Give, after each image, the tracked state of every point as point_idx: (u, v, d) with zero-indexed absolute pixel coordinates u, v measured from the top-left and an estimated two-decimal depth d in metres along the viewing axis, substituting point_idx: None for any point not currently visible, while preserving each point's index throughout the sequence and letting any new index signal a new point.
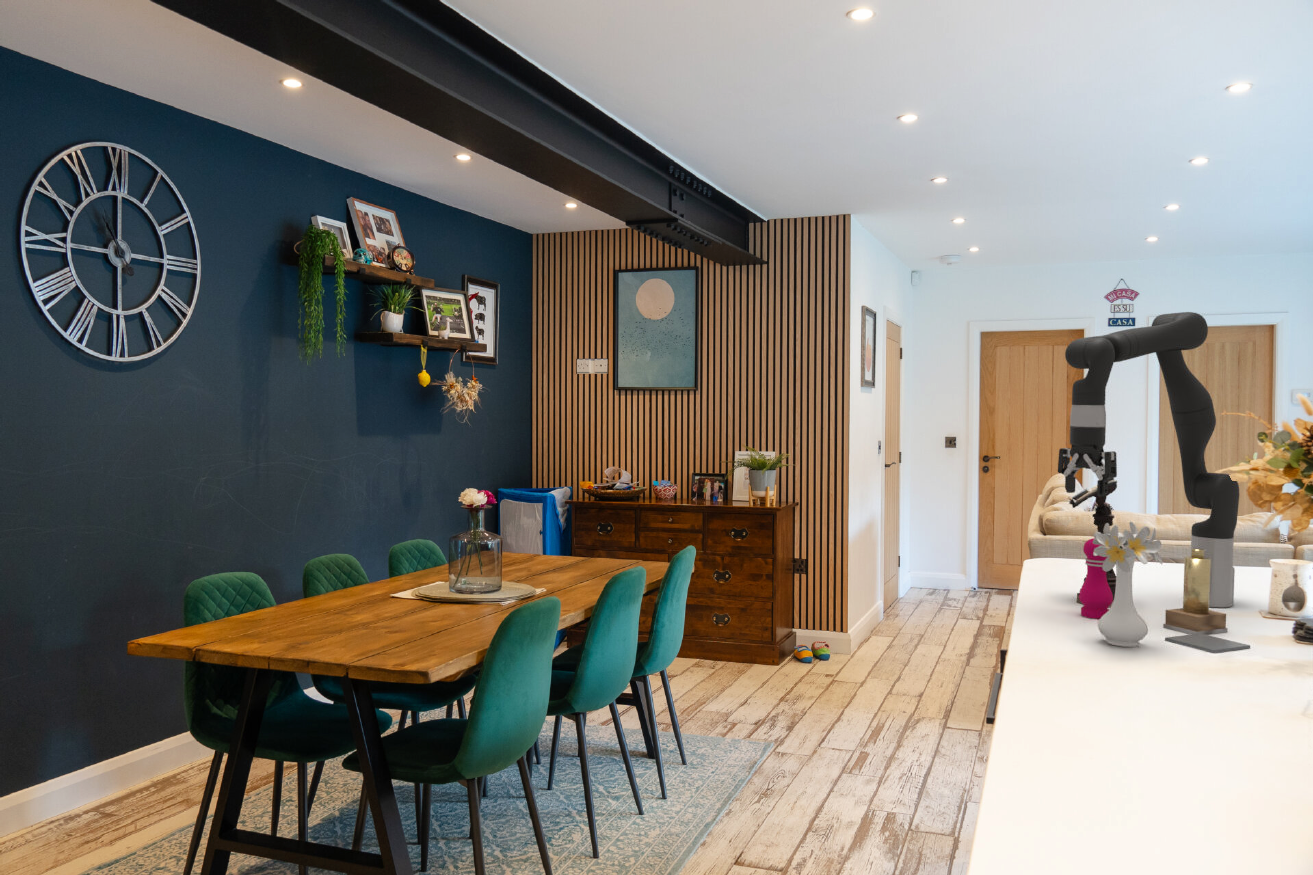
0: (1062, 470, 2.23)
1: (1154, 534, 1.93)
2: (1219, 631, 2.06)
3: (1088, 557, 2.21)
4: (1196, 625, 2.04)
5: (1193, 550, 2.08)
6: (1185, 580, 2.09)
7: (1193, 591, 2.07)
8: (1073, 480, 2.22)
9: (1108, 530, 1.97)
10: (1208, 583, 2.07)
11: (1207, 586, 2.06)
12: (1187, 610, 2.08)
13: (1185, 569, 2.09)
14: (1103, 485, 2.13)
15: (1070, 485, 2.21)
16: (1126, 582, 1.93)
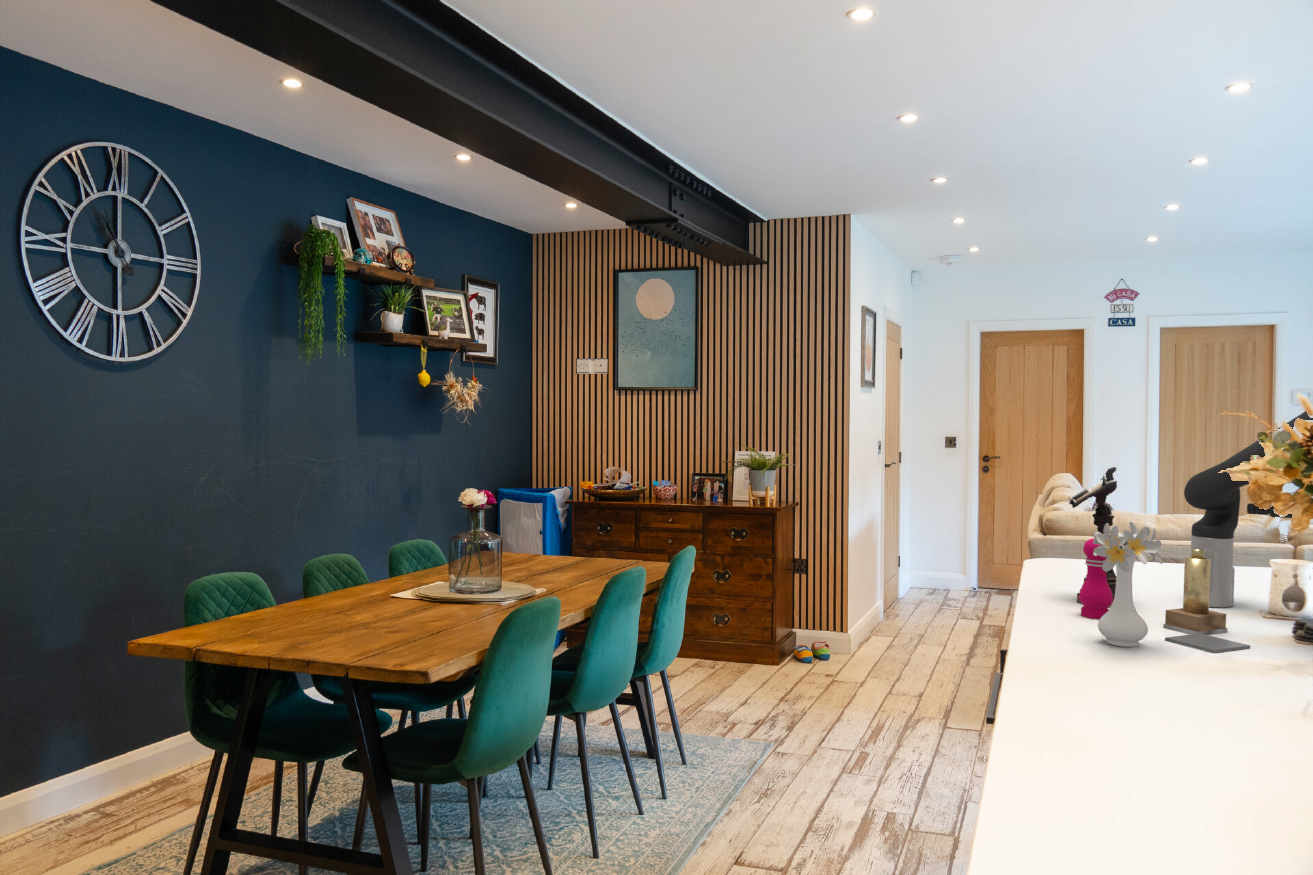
0: None
1: (1154, 534, 1.93)
2: (1219, 631, 2.06)
3: (1088, 557, 2.21)
4: (1196, 625, 2.04)
5: (1193, 550, 2.08)
6: (1185, 580, 2.08)
7: (1193, 591, 2.07)
8: None
9: (1108, 530, 1.97)
10: (1209, 583, 2.07)
11: (1208, 586, 2.06)
12: (1187, 610, 2.08)
13: (1185, 569, 2.09)
14: None
15: None
16: (1126, 582, 1.93)
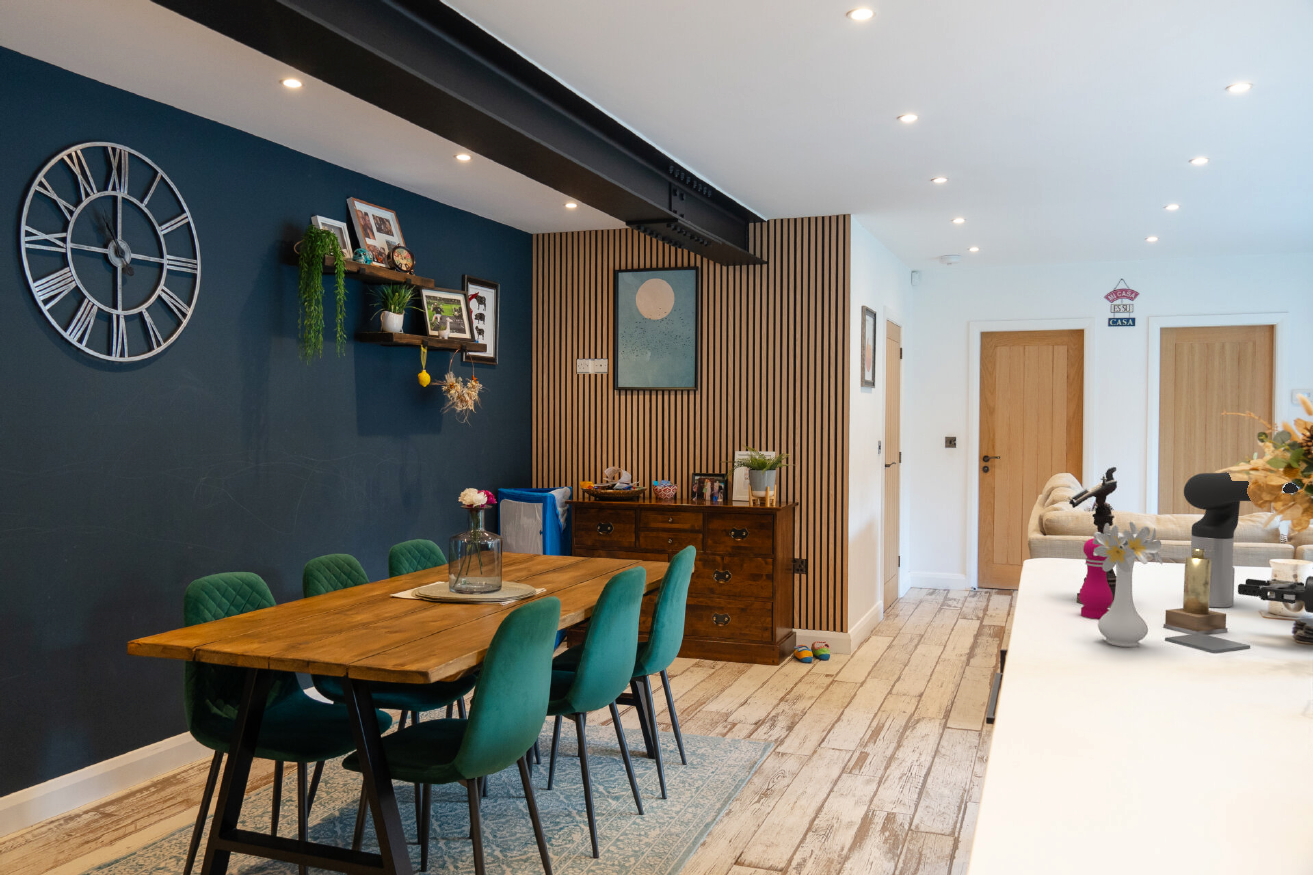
0: None
1: (1154, 534, 1.93)
2: (1219, 631, 2.06)
3: (1088, 557, 2.21)
4: (1196, 625, 2.04)
5: (1194, 550, 2.08)
6: (1186, 580, 2.09)
7: (1193, 590, 2.07)
8: None
9: (1108, 530, 1.97)
10: (1209, 583, 2.07)
11: (1208, 586, 2.06)
12: (1187, 610, 2.08)
13: (1185, 569, 2.09)
14: None
15: None
16: (1126, 582, 1.93)
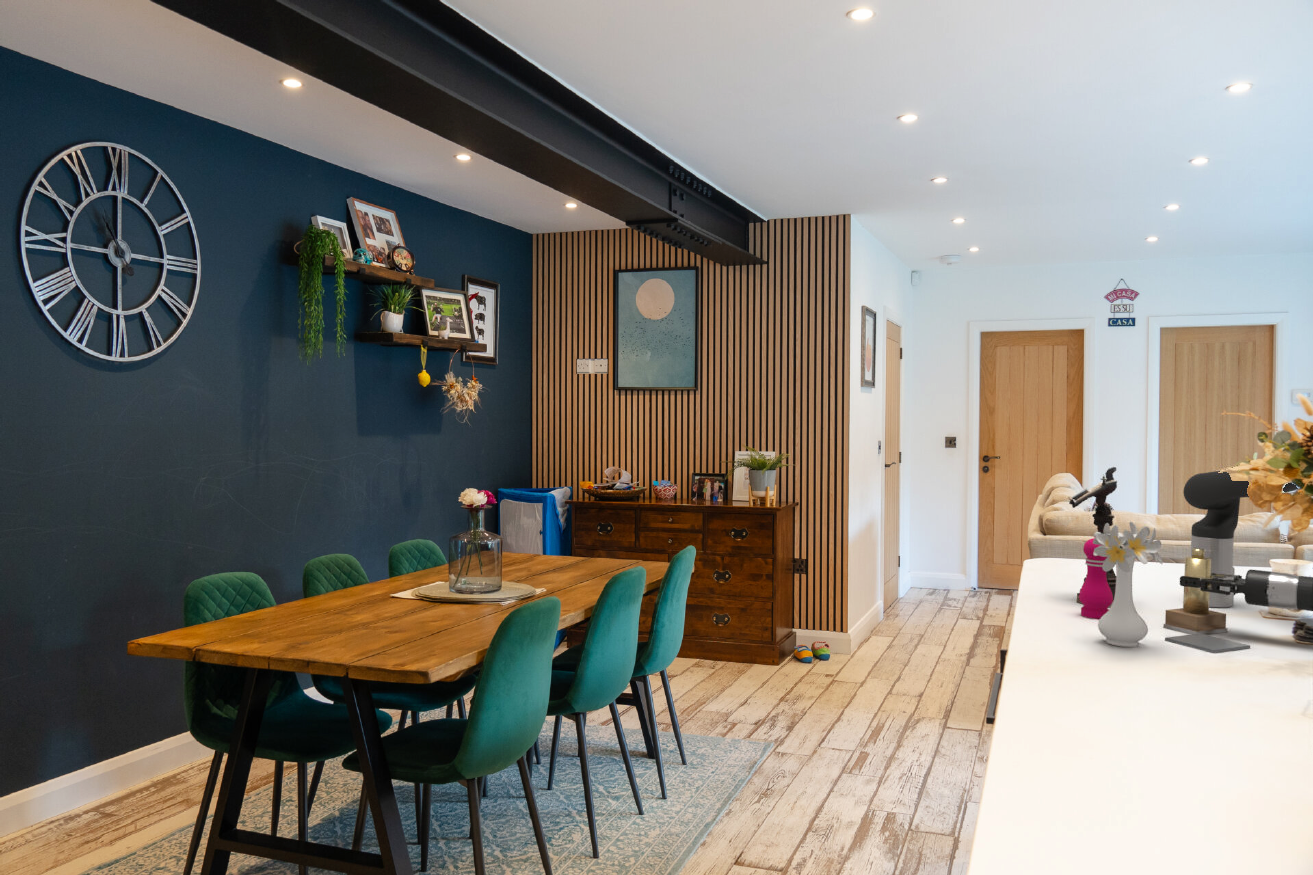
0: None
1: (1154, 534, 1.93)
2: (1219, 631, 2.06)
3: (1088, 557, 2.21)
4: (1196, 625, 2.04)
5: (1194, 550, 2.08)
6: None
7: (1193, 590, 2.07)
8: None
9: (1108, 530, 1.97)
10: (1209, 583, 2.07)
11: (1208, 586, 2.06)
12: (1187, 610, 2.08)
13: (1185, 569, 2.09)
14: None
15: None
16: (1126, 582, 1.93)
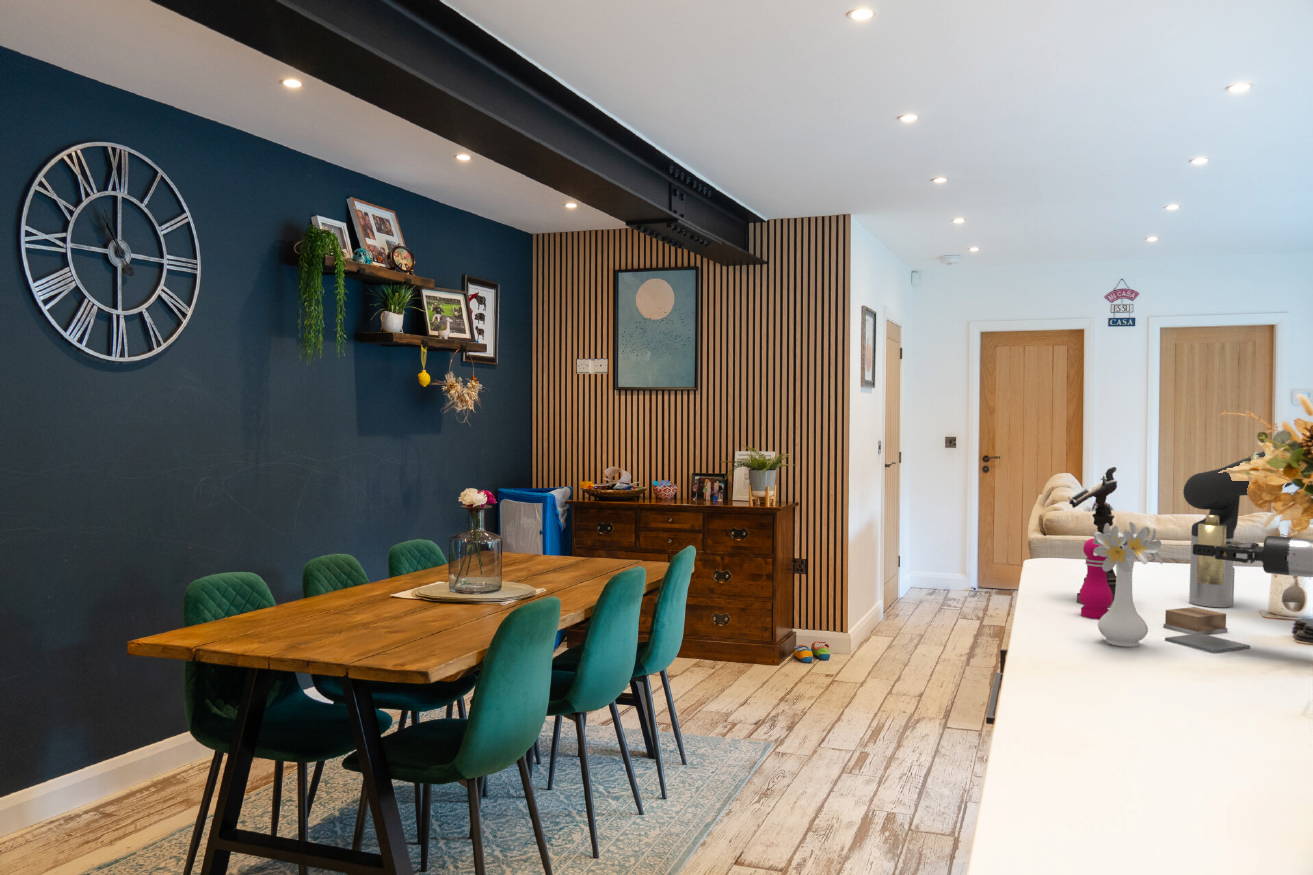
0: None
1: (1154, 534, 1.93)
2: (1219, 631, 2.06)
3: (1088, 557, 2.21)
4: (1196, 625, 2.04)
5: (1207, 516, 1.94)
6: None
7: (1207, 559, 1.93)
8: None
9: (1108, 530, 1.97)
10: (1224, 552, 1.93)
11: None
12: (1201, 580, 1.94)
13: (1199, 537, 1.95)
14: None
15: None
16: (1126, 582, 1.93)
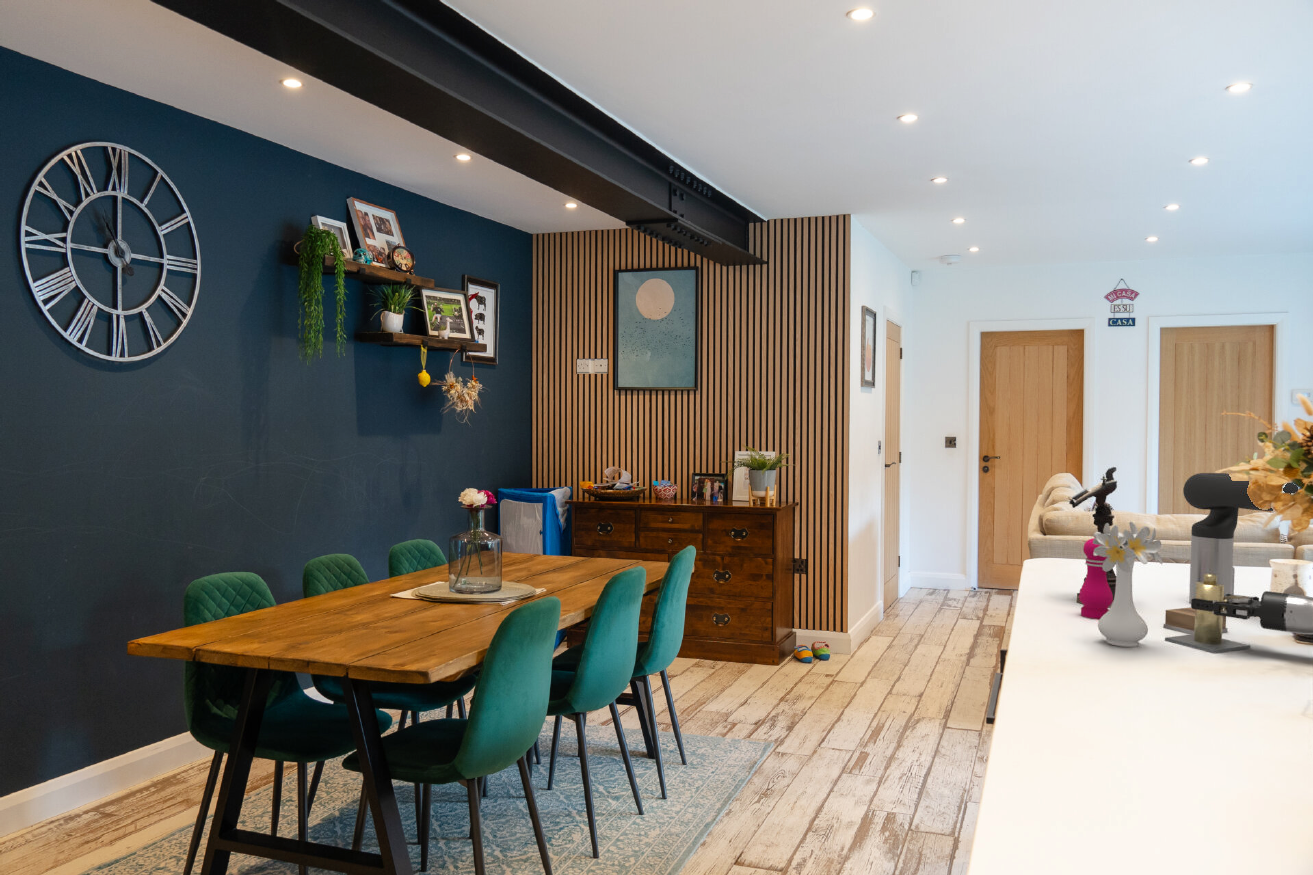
0: None
1: (1154, 534, 1.93)
2: None
3: (1088, 557, 2.21)
4: None
5: (1205, 576, 1.95)
6: None
7: (1205, 619, 1.94)
8: None
9: (1108, 530, 1.97)
10: None
11: None
12: (1198, 639, 1.95)
13: (1197, 596, 1.96)
14: None
15: None
16: (1126, 582, 1.93)
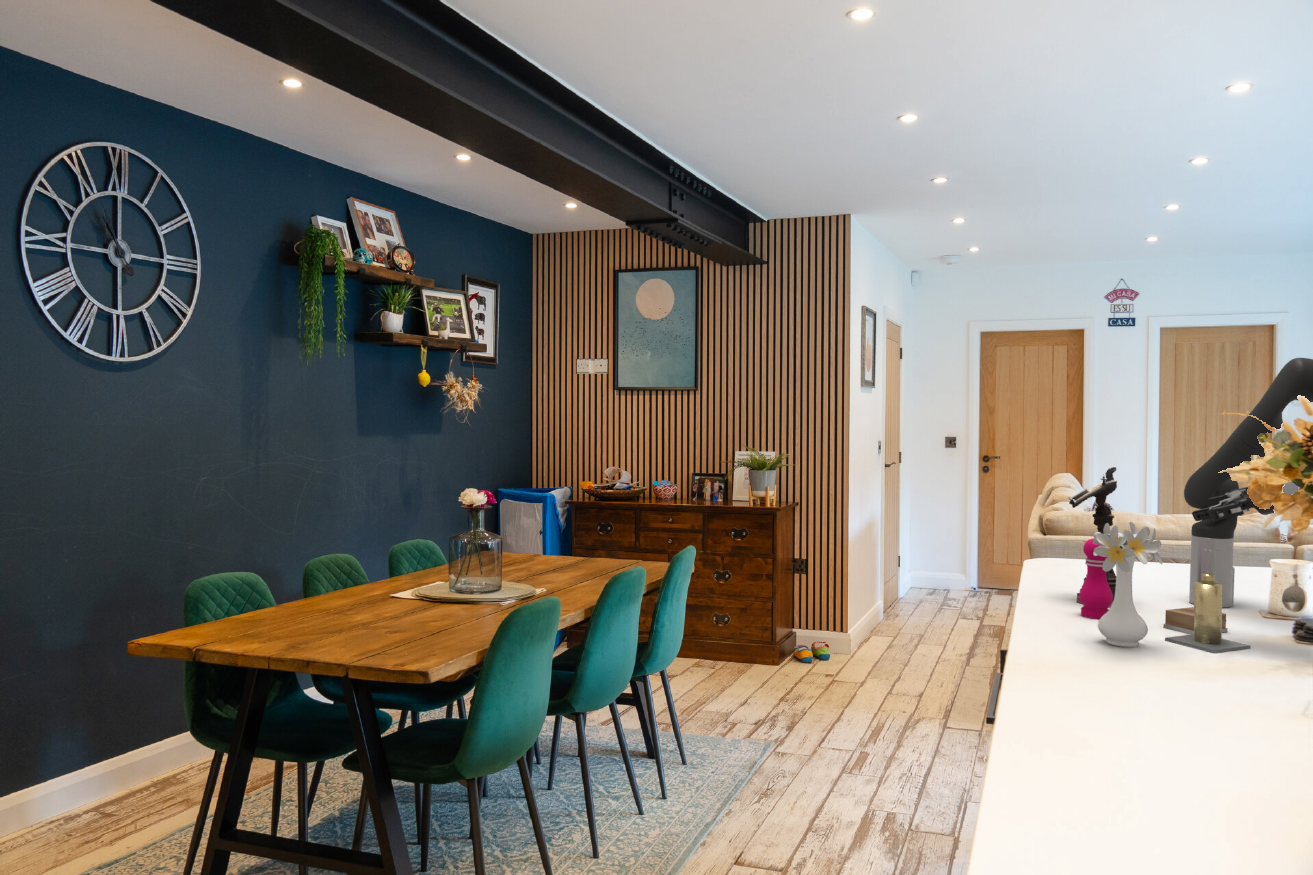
0: None
1: (1154, 534, 1.93)
2: None
3: (1088, 557, 2.21)
4: None
5: (1203, 575, 1.95)
6: (1196, 607, 1.96)
7: (1204, 619, 1.94)
8: None
9: (1108, 530, 1.97)
10: (1220, 610, 1.94)
11: (1220, 614, 1.93)
12: (1198, 639, 1.95)
13: (1195, 596, 1.96)
14: None
15: None
16: (1126, 582, 1.93)
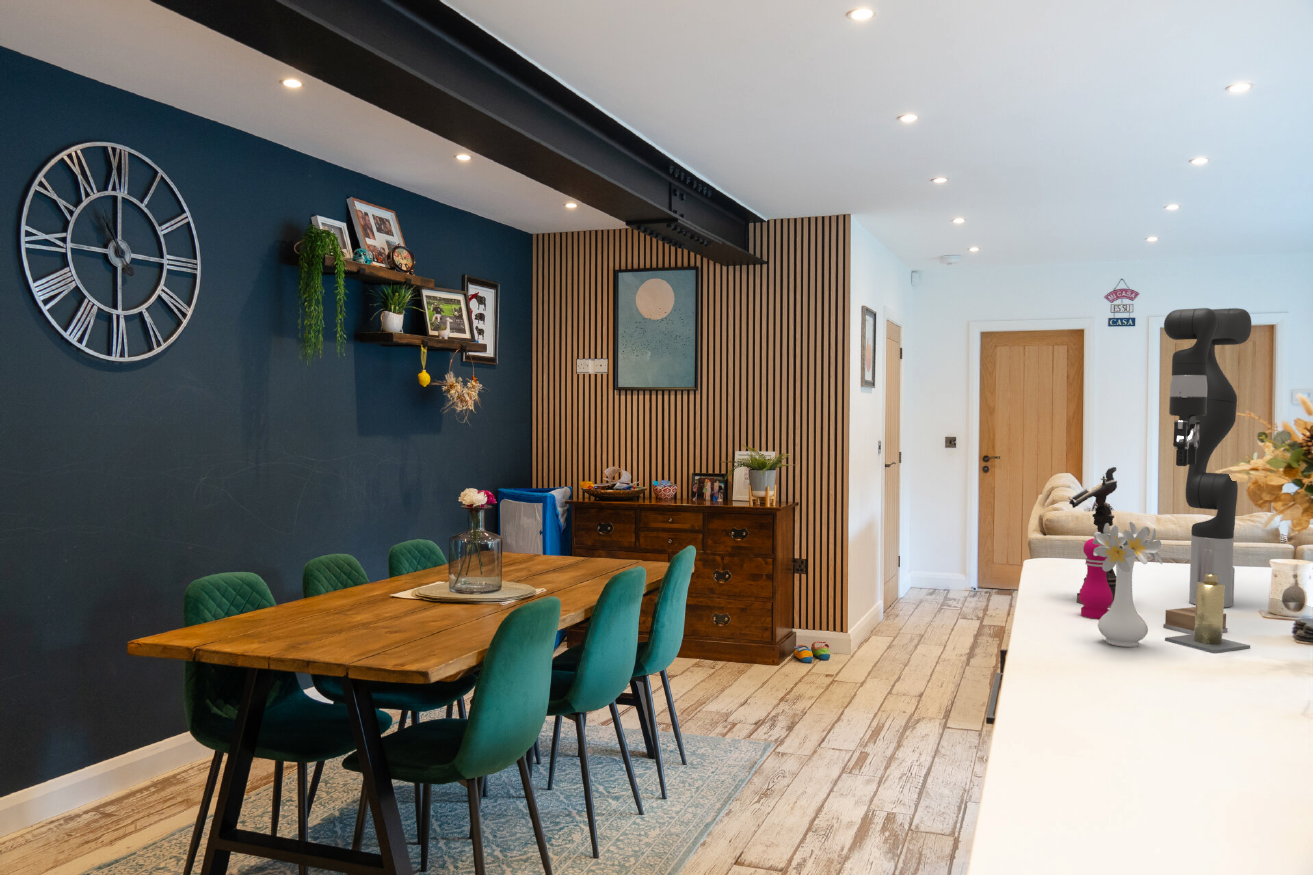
0: None
1: (1154, 534, 1.93)
2: None
3: (1088, 557, 2.21)
4: None
5: (1206, 576, 1.95)
6: (1197, 607, 1.95)
7: (1206, 619, 1.94)
8: None
9: (1108, 530, 1.97)
10: (1222, 611, 1.93)
11: (1221, 614, 1.93)
12: (1199, 639, 1.95)
13: (1197, 596, 1.95)
14: None
15: None
16: (1126, 582, 1.93)
